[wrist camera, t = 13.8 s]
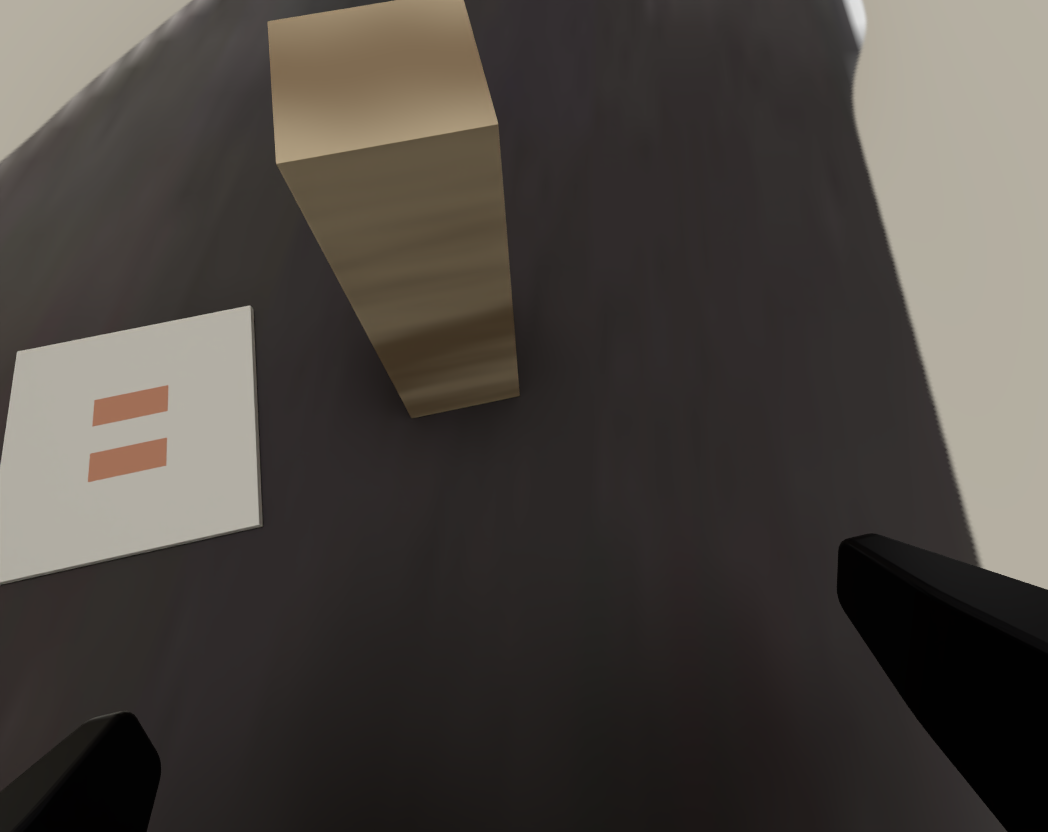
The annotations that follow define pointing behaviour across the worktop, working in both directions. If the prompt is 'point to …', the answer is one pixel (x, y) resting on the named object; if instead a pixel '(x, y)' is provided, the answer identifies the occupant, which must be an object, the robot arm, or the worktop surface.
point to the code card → (130, 444)
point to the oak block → (403, 189)
